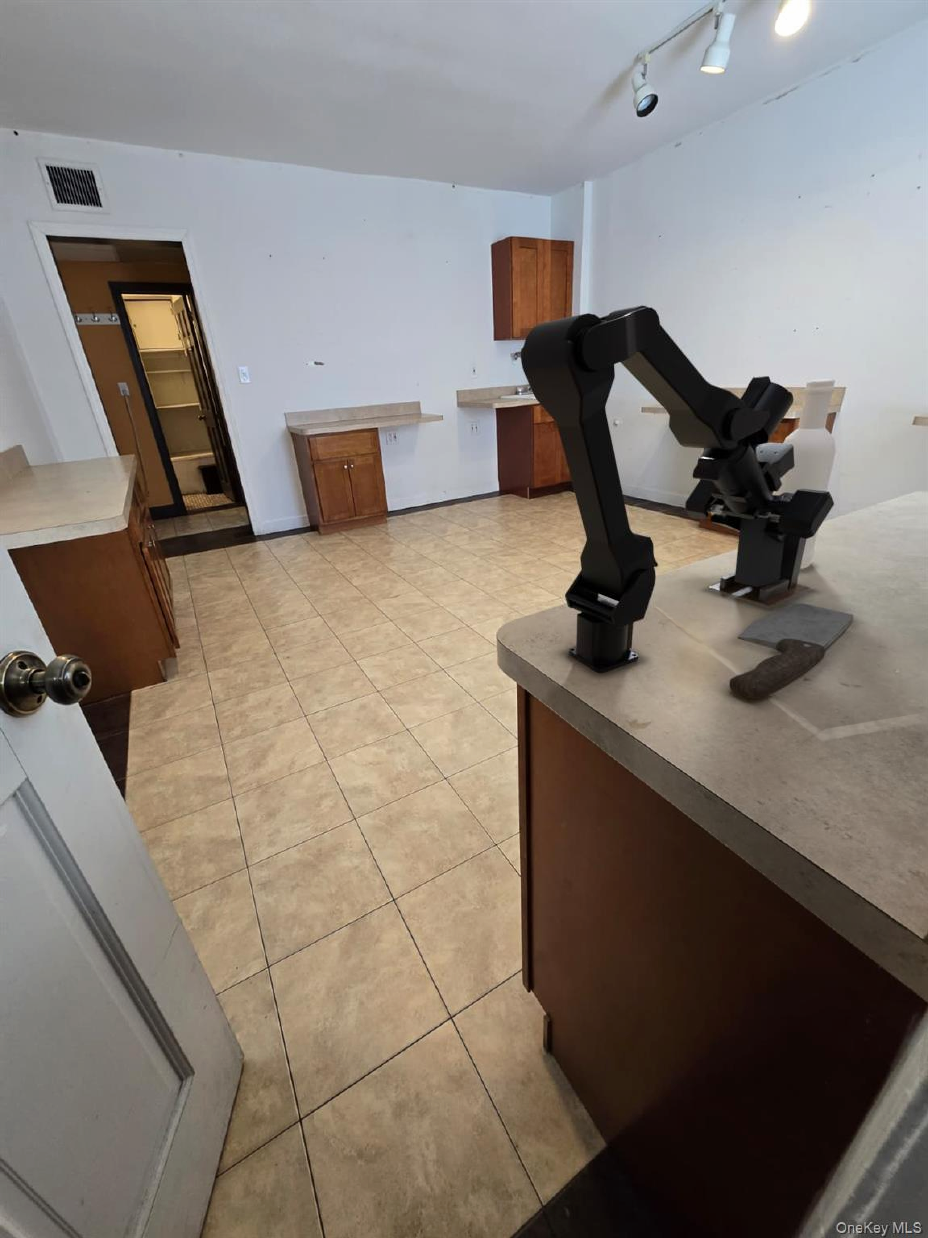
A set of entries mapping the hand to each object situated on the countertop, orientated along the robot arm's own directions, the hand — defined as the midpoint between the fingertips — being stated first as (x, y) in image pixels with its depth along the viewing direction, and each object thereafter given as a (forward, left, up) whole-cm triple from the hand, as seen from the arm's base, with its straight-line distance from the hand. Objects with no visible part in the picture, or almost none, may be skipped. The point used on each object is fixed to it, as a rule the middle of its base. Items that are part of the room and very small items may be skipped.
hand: (768, 537), depth 78 cm
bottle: (+14, +5, -9) cm, 17 cm away
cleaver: (-15, -14, -9) cm, 22 cm away
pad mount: (0, 0, -9) cm, 9 cm away
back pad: (-2, -1, -7) cm, 7 cm away
